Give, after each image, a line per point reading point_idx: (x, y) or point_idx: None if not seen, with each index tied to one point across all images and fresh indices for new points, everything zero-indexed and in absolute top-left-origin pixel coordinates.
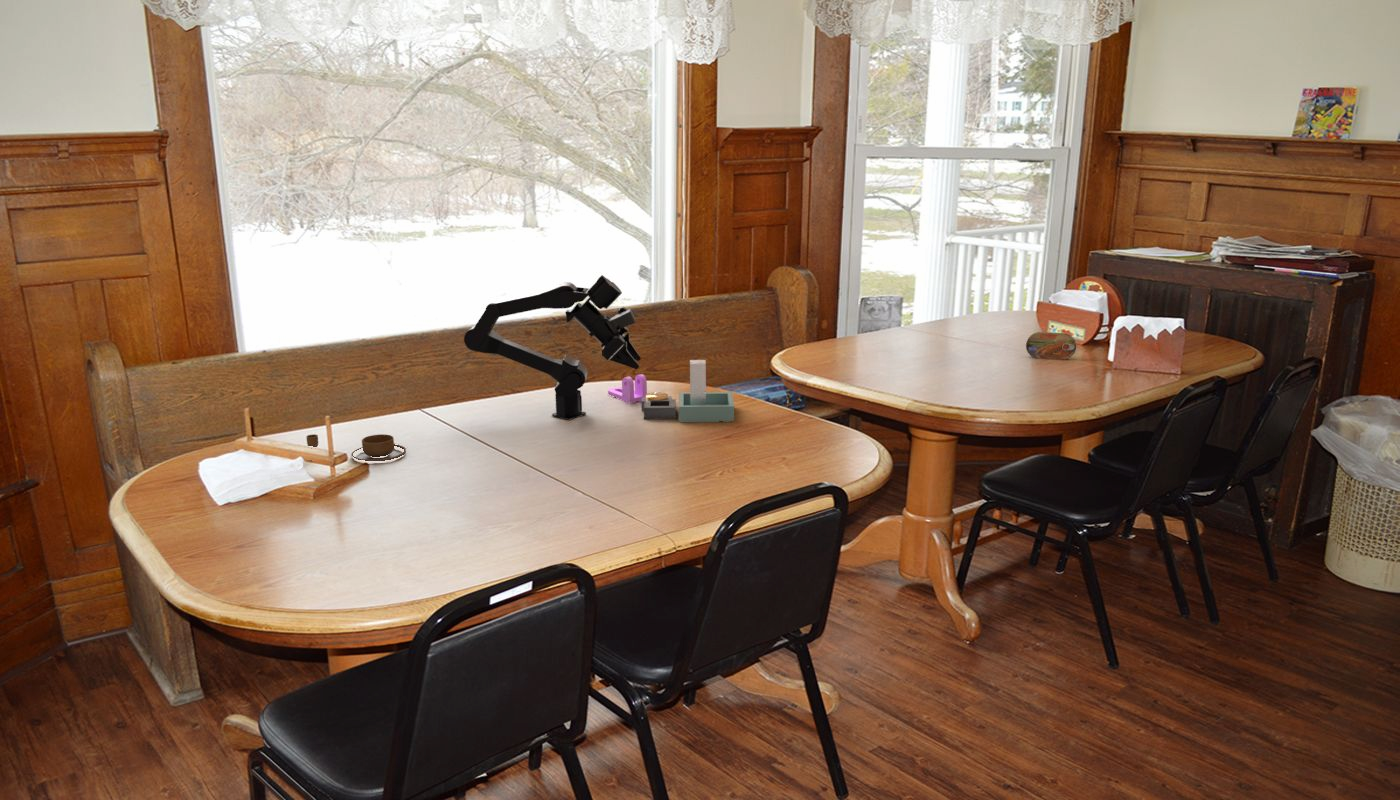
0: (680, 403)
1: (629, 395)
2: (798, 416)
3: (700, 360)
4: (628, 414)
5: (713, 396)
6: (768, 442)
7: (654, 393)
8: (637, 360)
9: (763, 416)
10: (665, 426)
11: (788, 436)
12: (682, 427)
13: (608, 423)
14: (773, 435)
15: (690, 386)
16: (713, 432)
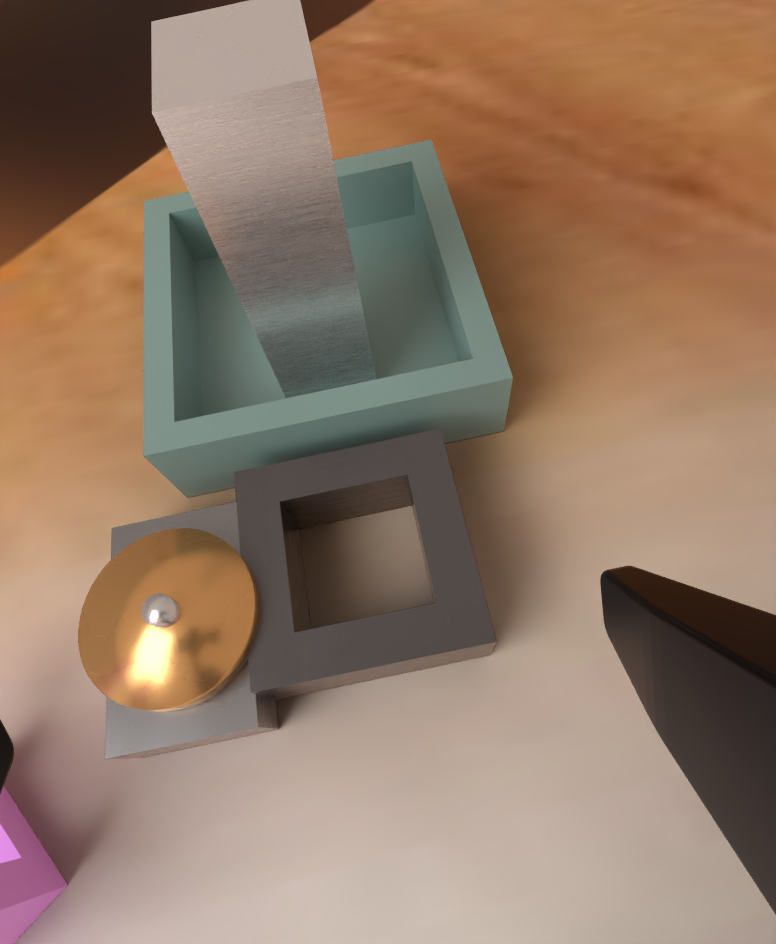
0: (427, 385)
1: (21, 905)
2: (315, 52)
3: (174, 43)
4: (388, 812)
5: (178, 283)
6: (696, 63)
7: (114, 643)
8: (9, 768)
9: (330, 138)
10: (612, 481)
11: (590, 32)
12: (600, 391)
13: (681, 933)
14: (595, 67)
15: (353, 265)
16: (636, 247)
